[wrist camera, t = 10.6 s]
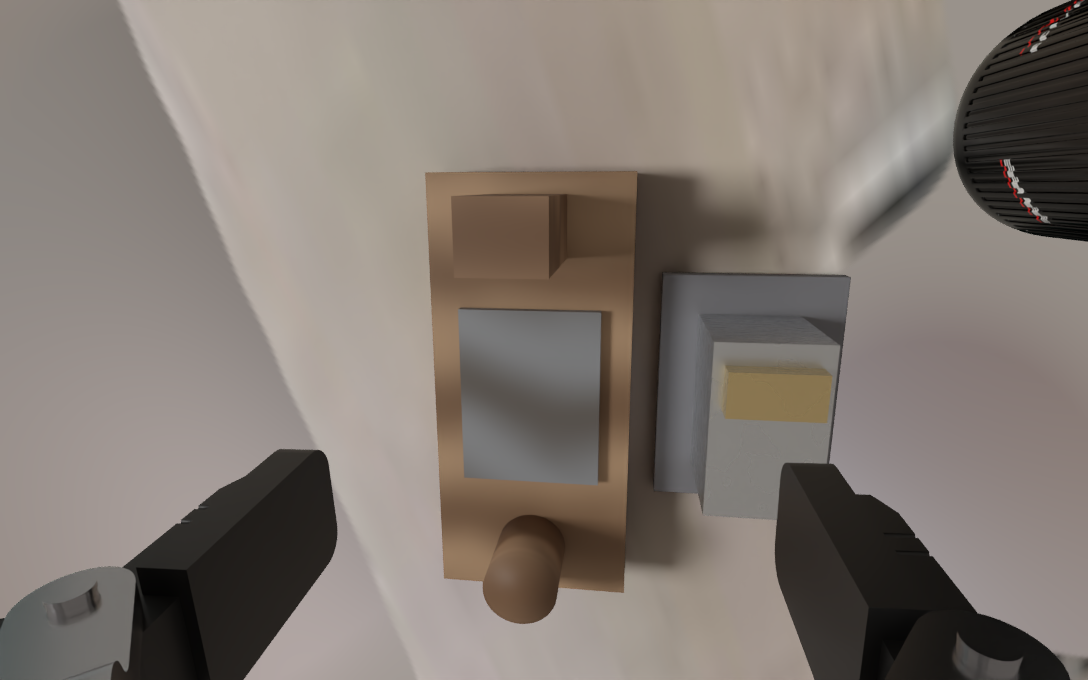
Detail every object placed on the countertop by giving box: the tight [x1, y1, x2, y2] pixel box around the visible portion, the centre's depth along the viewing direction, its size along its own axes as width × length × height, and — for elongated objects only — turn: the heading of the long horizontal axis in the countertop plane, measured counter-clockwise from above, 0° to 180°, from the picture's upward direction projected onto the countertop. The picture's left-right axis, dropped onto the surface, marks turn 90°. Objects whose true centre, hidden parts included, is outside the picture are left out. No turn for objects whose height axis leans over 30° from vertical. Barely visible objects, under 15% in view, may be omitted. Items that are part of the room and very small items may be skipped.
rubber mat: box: [653, 272, 851, 493], centre depth 33 cm, size 12×9×1 cm
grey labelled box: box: [690, 314, 840, 520], centre depth 29 cm, size 8×5×7 cm, turn 0°
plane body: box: [425, 171, 637, 624], centre depth 30 cm, size 22×10×10 cm, turn 0°
